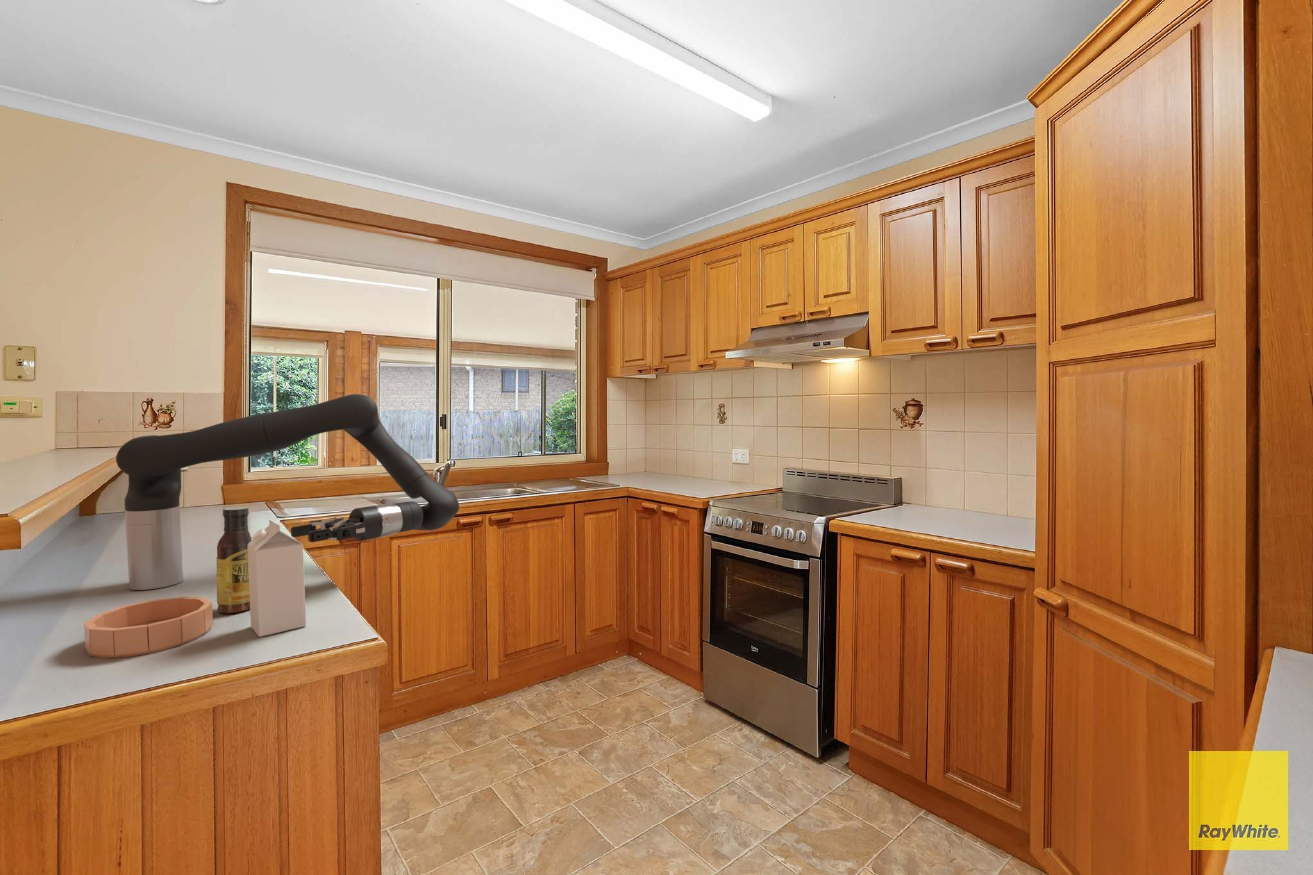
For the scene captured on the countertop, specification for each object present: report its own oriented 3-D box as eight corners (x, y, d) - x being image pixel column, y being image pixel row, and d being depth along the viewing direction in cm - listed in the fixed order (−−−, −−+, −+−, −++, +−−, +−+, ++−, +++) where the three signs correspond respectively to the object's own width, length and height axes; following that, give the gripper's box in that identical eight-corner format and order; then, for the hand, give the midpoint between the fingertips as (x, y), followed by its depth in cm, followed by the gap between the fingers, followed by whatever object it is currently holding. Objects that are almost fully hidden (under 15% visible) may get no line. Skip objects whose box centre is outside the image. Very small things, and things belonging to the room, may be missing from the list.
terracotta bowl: (78, 641, 99) (76, 615, 98) (195, 614, 111) (194, 591, 111) (99, 667, 89) (97, 637, 89) (224, 634, 102) (223, 608, 101)
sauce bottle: (236, 616, 110) (231, 511, 109) (209, 614, 112) (204, 510, 111) (266, 604, 117) (261, 505, 116) (239, 602, 118) (235, 505, 117)
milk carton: (296, 617, 110) (292, 516, 109) (306, 627, 105) (302, 521, 104) (250, 627, 105) (246, 521, 104) (259, 638, 100) (254, 527, 99)
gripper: (360, 502, 140) (284, 513, 127) (391, 508, 131) (314, 520, 118) (361, 533, 140) (286, 547, 127) (393, 541, 131) (315, 557, 119)
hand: (300, 534), depth 123 cm, fingers open, 8 cm apart
